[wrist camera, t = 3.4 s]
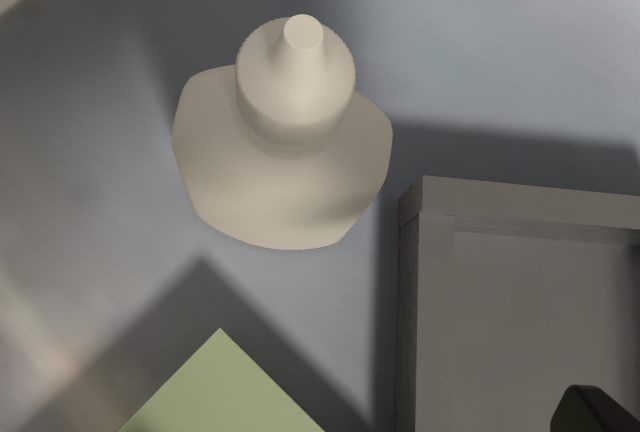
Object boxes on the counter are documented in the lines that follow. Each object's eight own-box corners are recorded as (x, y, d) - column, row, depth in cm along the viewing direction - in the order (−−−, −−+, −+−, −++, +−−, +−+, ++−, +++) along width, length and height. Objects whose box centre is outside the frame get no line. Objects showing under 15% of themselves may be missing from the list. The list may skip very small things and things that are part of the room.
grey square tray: (688, 498, 21) (759, 522, 18) (391, 487, 20) (416, 510, 17) (665, 222, 24) (723, 204, 21) (399, 198, 22) (422, 175, 19)
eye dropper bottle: (253, 116, 22) (262, -139, 11) (365, 209, 22) (499, 49, 10) (174, 198, 21) (90, 13, 10) (292, 298, 21) (350, 228, 9)
